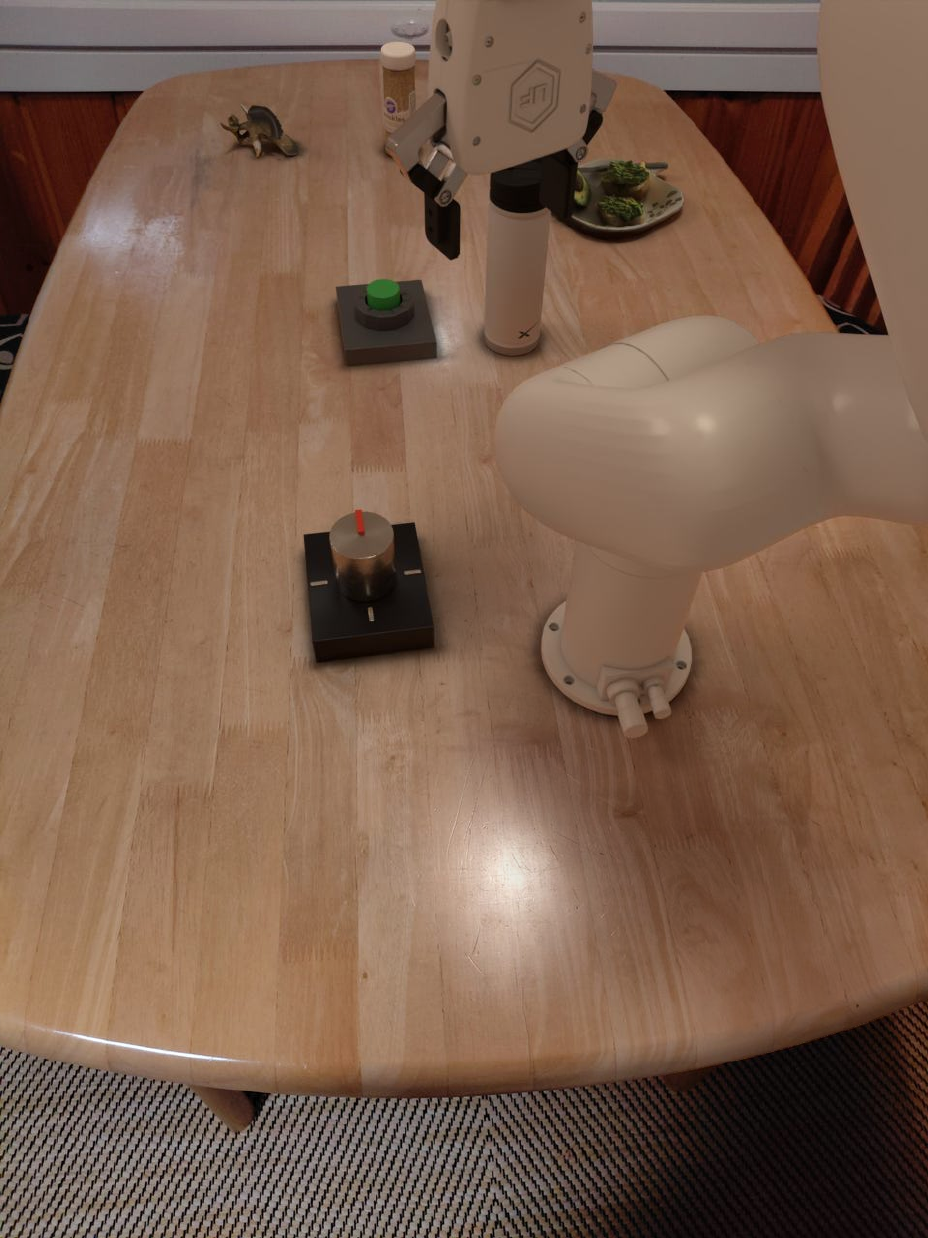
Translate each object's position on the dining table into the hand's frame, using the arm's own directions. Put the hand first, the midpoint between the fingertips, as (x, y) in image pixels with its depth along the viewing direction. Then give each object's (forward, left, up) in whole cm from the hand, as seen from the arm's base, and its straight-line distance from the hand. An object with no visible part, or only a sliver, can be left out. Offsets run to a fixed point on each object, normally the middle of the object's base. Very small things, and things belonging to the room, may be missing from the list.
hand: (500, 230), depth 66 cm
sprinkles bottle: (+71, -1, -29) cm, 76 cm away
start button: (+30, +6, -25) cm, 39 cm away
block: (+30, +6, -28) cm, 42 cm away
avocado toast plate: (+53, -26, -29) cm, 65 cm away
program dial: (-9, +12, -25) cm, 30 cm away
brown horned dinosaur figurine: (+74, +18, -29) cm, 81 cm away
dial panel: (-9, +12, -28) cm, 32 cm away
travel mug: (+26, -8, -29) cm, 39 cm away
